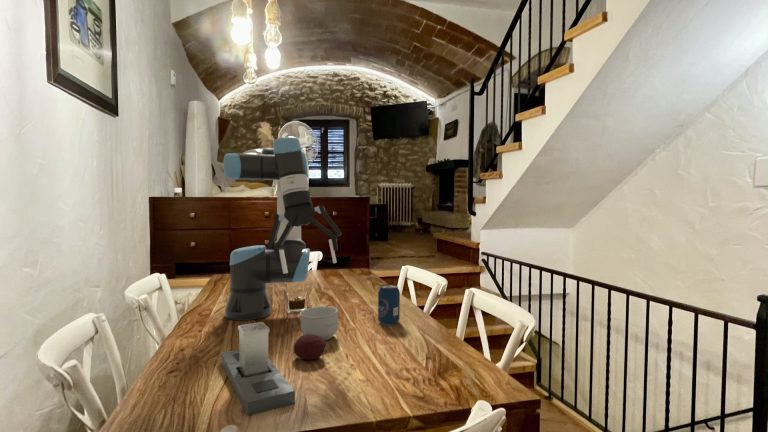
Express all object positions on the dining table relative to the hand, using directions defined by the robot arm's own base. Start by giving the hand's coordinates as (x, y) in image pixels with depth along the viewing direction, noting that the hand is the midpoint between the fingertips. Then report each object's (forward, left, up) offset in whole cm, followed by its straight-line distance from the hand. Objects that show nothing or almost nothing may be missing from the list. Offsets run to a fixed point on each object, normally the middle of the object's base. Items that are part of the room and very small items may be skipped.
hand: (310, 268), depth 111 cm
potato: (+9, -4, -21) cm, 23 cm away
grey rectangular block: (+15, -19, -21) cm, 32 cm away
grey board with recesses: (+15, -19, -21) cm, 32 cm away
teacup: (-5, +5, -21) cm, 23 cm away
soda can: (-6, +29, -21) cm, 37 cm away
